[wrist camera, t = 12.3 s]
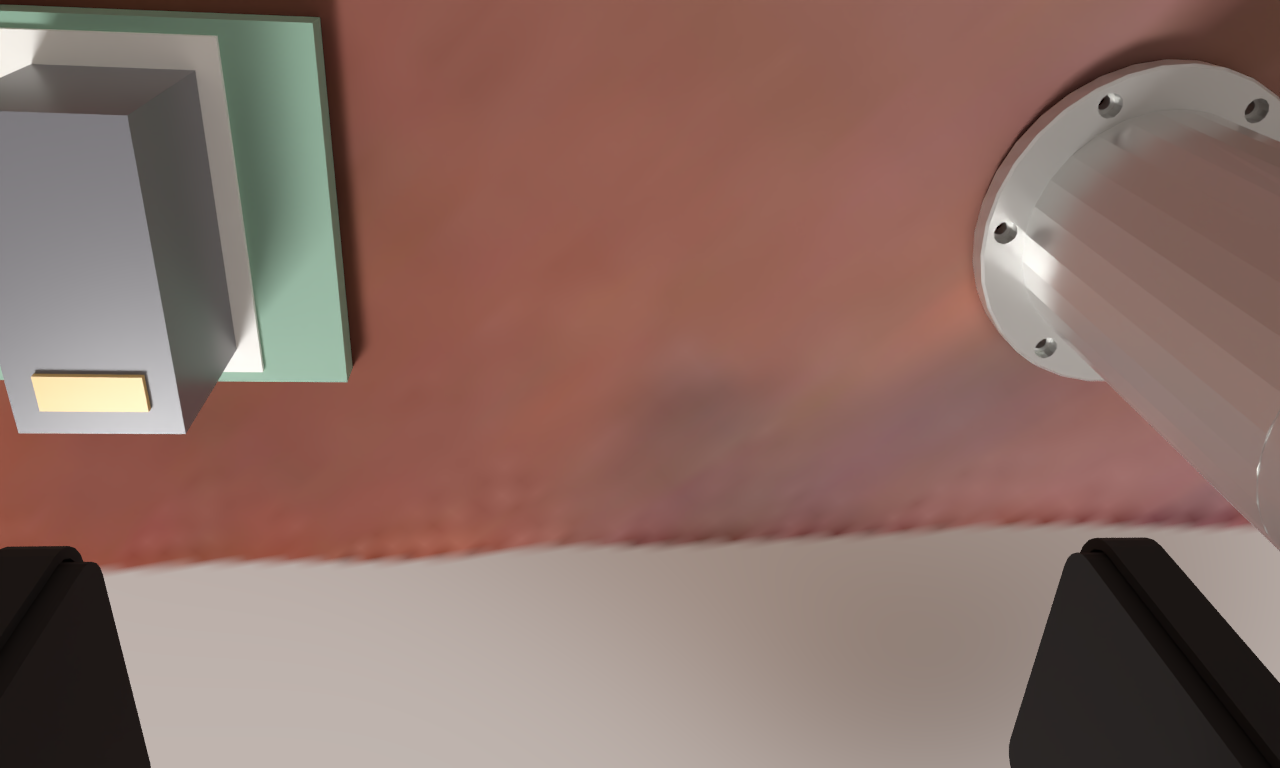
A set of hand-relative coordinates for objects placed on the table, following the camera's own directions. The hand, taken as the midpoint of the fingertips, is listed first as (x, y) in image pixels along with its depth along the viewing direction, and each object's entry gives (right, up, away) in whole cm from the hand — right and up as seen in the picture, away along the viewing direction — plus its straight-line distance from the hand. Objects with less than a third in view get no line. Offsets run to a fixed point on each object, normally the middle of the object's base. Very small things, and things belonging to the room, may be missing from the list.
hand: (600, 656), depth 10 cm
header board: (-17, +9, +26) cm, 32 cm away
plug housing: (-17, +8, +25) cm, 31 cm away
